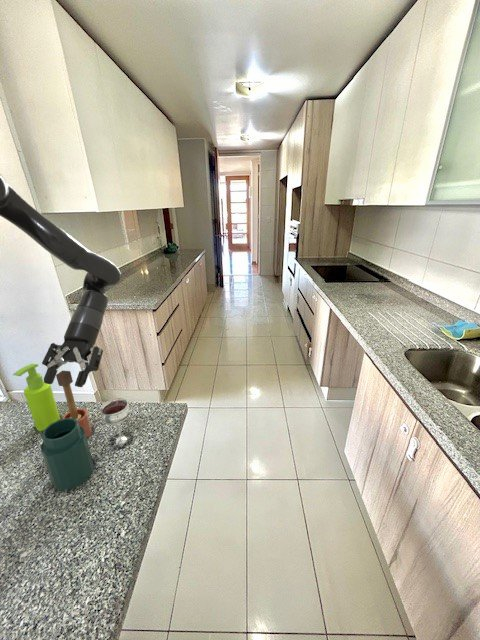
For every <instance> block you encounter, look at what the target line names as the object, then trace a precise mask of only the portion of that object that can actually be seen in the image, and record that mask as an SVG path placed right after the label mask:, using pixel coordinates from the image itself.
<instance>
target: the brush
mask: <svg viewBox="0 0 480 640" xmlns="http://www.w3.org/2000/svg"><path fill="white" fill-rule="evenodd" d="M55 378H56V380H57V385H58V387H62V389H63V393H64V396H65V400H66V403H67V407H68V410H69V411H68V412H70V415H71V417H70V418H75V419H76V420H77V421H78V420H79V419H81V418H82V417H81V415H80V414H78V413H77V409H78V408H77V405H76V401H75V398H74V393H73V391H72V385H71V384H72V383H73V382H74V380H73V377H72V373H71V371H70V370H61V371H59V372H57V374H56V376H55Z"/></svg>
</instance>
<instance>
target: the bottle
mask: <svg viewBox="0 0 480 640" xmlns="http://www.w3.org/2000/svg"><path fill="white" fill-rule="evenodd" d="M41 440H42V443H41V444H40V451H41V454H42V457H43V460H44V463H45V466H46V469H47V471H48V475H49V477H50V480H51V483H52V486H53V487H54V488H55V489H56V490H58V491H68V490H71V489H75V488H77V487H79V486H80V485H82V484H83V483H84V482H85V481H87V480H88V479H89V477H90V476H91V475H92V473H93V471H94V461H93V458H92V454H91V450H90V446H89V442H88V438H86V434H85V430H84V429H83V428H82V427H80V426H79V422H78V421H77V420H76V419H75V418H65V419H62V418H60V420H58V421H56V422H54V423H52V424H50V425H49V426H48V427H47V428H45V429H44V430H43V431H42V434H41Z"/></svg>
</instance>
